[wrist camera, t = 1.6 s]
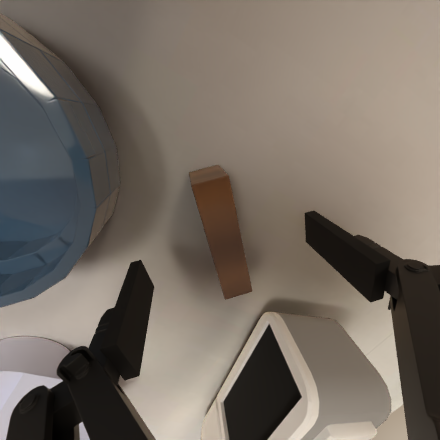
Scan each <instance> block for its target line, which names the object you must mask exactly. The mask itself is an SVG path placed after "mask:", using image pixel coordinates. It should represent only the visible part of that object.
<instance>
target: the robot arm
mask: <svg viewBox="0 0 440 440" xmlns="http://www.w3.org/2000/svg"><path fill="white" fill-rule="evenodd" d="M305 230H306V242H307V243H308V244H309V245H310V246H311V247H312V248H313V249H314V250H315V251H316V252H317V253H318V254H319V255H320V256H322V257H323V258H324V259H325V260H326V261H327V262H328V263H329V264H330V265H331V266H332V267H333V268H334V269H335V270H336V271H338V272H339V273H340V274H341V275H342V276H343V277H344V278H345V279H346V280H347V281H348V282H349V283H350V284H351V285H352V286H353V287H355V288H356V289H357V290H358V291H359V292H360V293H361V294H362V295H363V296H364V297H365V298H366V299H367V300H368V301H369V302H373V301H376V300H380V299H383V296H384V291H386V292H387V293H388V294H390V295H391V297H390V301H389V306H388V310H390V309H391V313H392V320H393V328H394V336H395V343H396V351H397V358H398V366H399V373H400V381H401V389H402V396H403V404H404V411H405V419H406V426H407V434H408V440H440V265H433V266H428V265H426V264H425V263H423V262H420V261H417V260H412V259H405V260H403V259H402V258H400V257H398V256H397V255H395V254H393V253H392V252H390V251H388V250H387V249H385V248H383V247H381V246H380V245H378V244H377V243H375V242H374V241H372V240H370V239H369V238H367V237H363V236H360V235H356V236H353V235H351V234H350V233H348V232H346V231H345V230H343V229H342V228H340V227H339V226H337V225H336V224H334V223H333V222H331V221H329V220H328V219H326V218H325V217H323V216H322V215H320V214H319V213H317V212H316V211H310V212H307V213H305ZM153 290H154V285H153V283H152V281H151V279H150V277H149V275H148V273H147V271H146V269H145V267H144V265H143V263H142V261H141V260H139V261H135V262H132V263H131V264H130V267H129V269H128V272H127V275H126V278H125V280H124V283H123V286H122V289H121V291H120V294H119V297H118V300H117V302H116V305H115V308H112V309H108V310H107V311H106V312H105V314H104V315H103V316H102V317H101V319H100V322H99V324H98V327H97V329H96V332H95V334H94V336H93V339H92V341H91V344H90V346H89V349H88V348H87V347H86V346H81V347H78V348H75V349H74V350H72V351H71V352H69V353H68V354H67V355H66V356H65V357H64V358H63V359H62V361H61V362H60V363H59V365H58V368H57V376H58V377H59V378H61V379H62V380H63V381H62V382H61V383H59V384H57V385H56V386H54V387H52V388H51V389H49V388H47V387H46V386H44V385H42V386H38V387H36V388H34V389H32V390H31V391H29V392H28V393H27V394H26V395H25V396H24V397H23V398H22V399H21V400H20V401H19V402H18V403H17V405H16V406H15V408H14V409H13V412H12V414H11V417H10V422H9V427H8V432H7V437H6V440H80V433H79V424H80V423H81V422H83V424H84V427H85V429H86V432H87V434H88V436H89V439H90V440H156V439H155V438H154V436H153V435H152V433H151V432H150V430H149V429H148V427H147V426H146V424H145V423H144V421H143V420H142V418H141V417H140V415H139V414H138V412H137V411H136V409H135V408H134V406H133V405H132V403H131V402H130V400H129V399H128V397H127V396H126V394H125V393H124V391H123V390H122V388H121V387H120V385H119V384H118V381H119V377H120V375H121V376H122V378H123V379H124V380H128V379H131V378H134V377H137V376H139V375H140V369H141V363H142V357H143V351H144V345H145V339H146V333H147V327H148V320H149V314H150V308H151V302H152V296H153Z"/></svg>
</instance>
